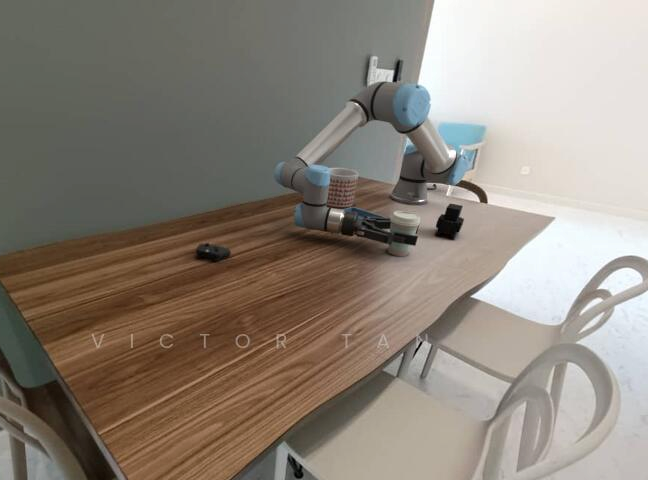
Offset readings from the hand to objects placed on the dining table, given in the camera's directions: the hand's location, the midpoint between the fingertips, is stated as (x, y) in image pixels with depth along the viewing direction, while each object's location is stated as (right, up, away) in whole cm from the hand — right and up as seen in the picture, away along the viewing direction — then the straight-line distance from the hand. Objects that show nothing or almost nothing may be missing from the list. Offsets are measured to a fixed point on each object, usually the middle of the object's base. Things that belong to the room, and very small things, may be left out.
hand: (417, 235), depth 117 cm
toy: (+19, +4, +23) cm, 30 cm away
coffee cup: (-4, -5, +5) cm, 8 cm away
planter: (-16, +21, +46) cm, 53 cm away
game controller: (-60, -7, -5) cm, 61 cm away
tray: (-13, +9, +26) cm, 30 cm away
